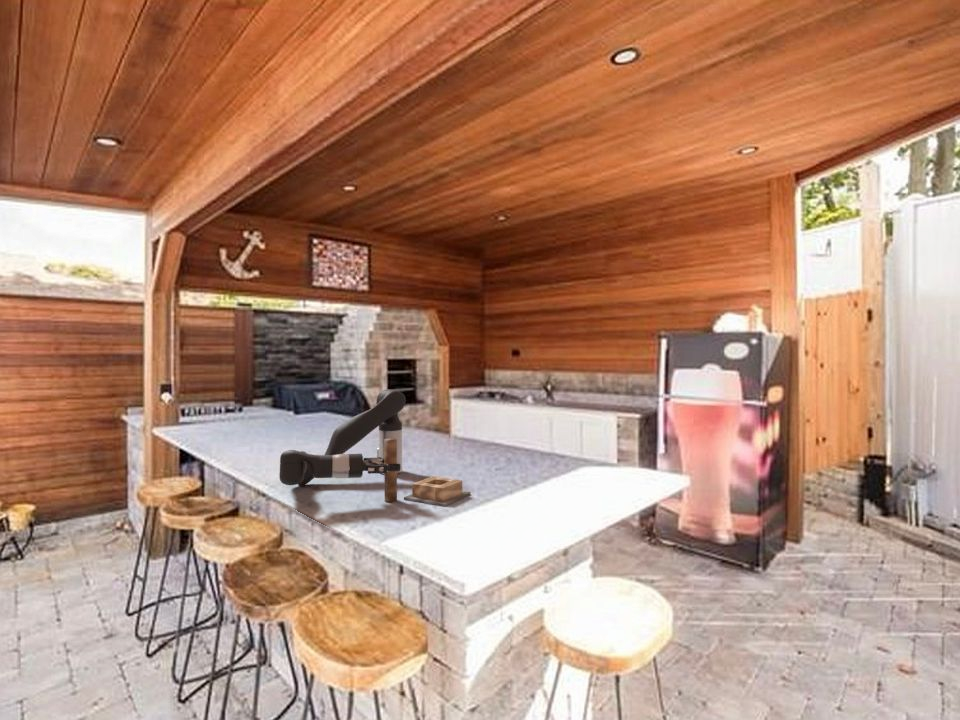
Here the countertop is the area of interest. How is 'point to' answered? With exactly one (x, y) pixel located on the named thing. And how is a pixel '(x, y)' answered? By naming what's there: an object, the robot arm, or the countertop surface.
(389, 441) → the peg
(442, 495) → the socket block
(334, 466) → the robot arm
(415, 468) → the countertop surface
